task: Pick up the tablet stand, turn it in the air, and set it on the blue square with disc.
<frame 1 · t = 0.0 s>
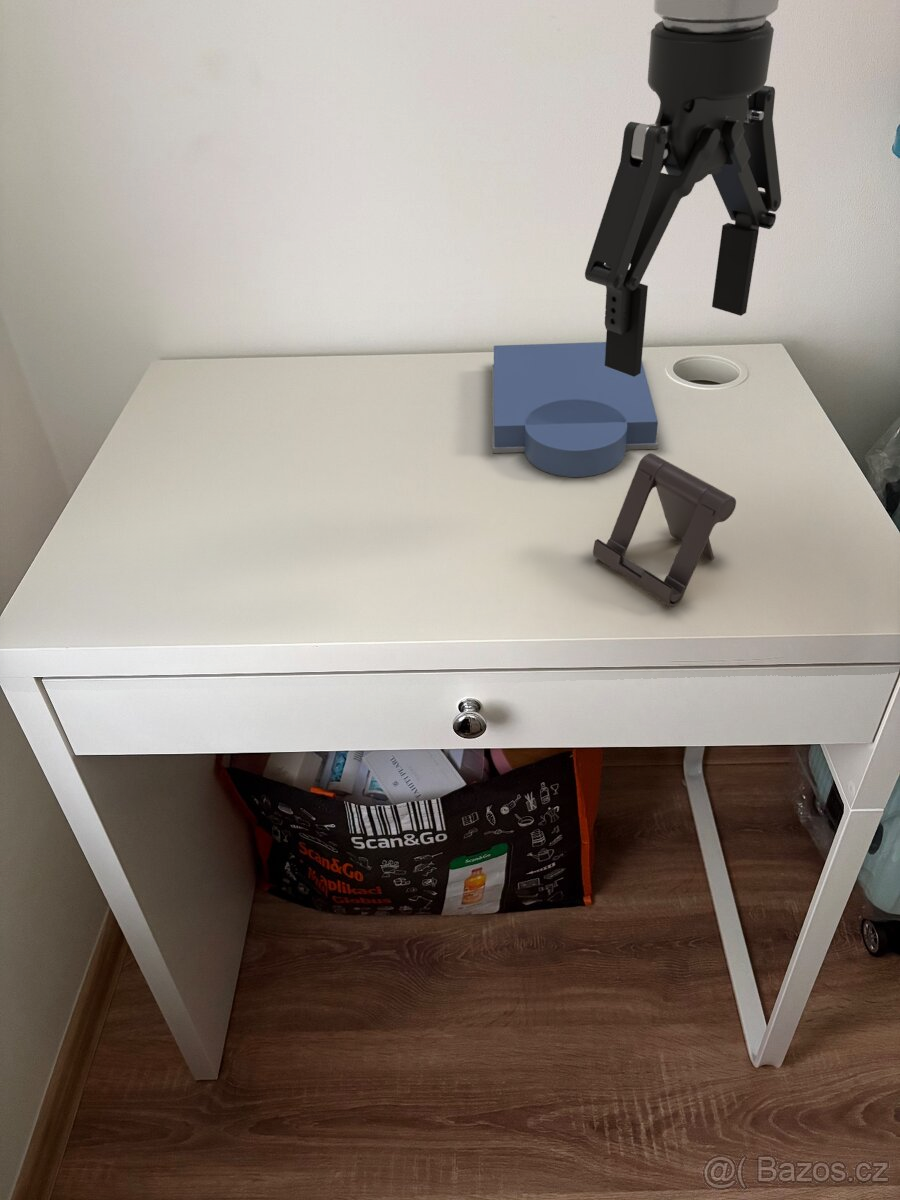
hand: (678, 338, 74), 18 cm above the table, tool pointing down, fingers open, 13 cm apart
blue square with disc: (569, 406, 103), on the table
tablet stand: (660, 567, 82), on the table
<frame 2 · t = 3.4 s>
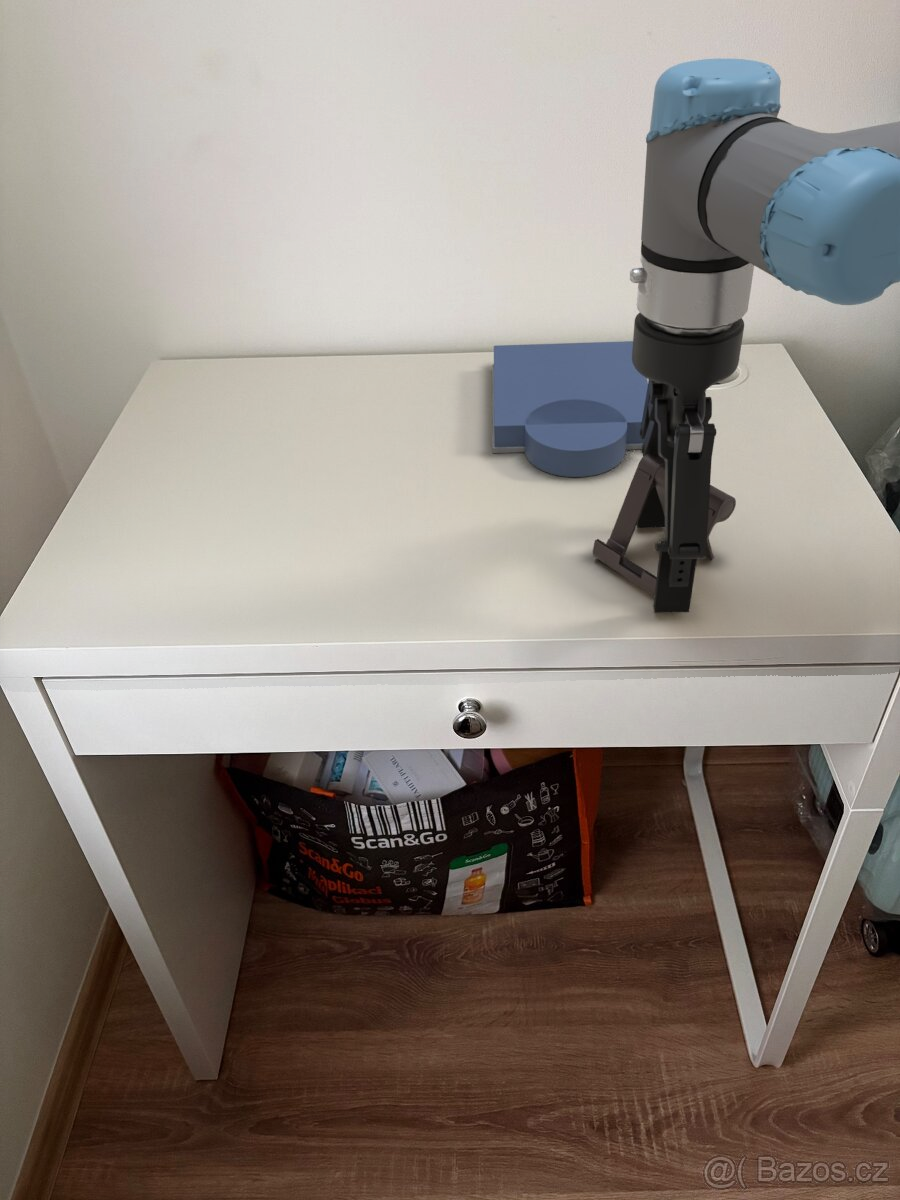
hand: (661, 565, 81), 0 cm above the table, tool pointing down, fingers closed on tablet stand, 11 cm apart
tablet stand: (660, 567, 82), on the table, touching gripper
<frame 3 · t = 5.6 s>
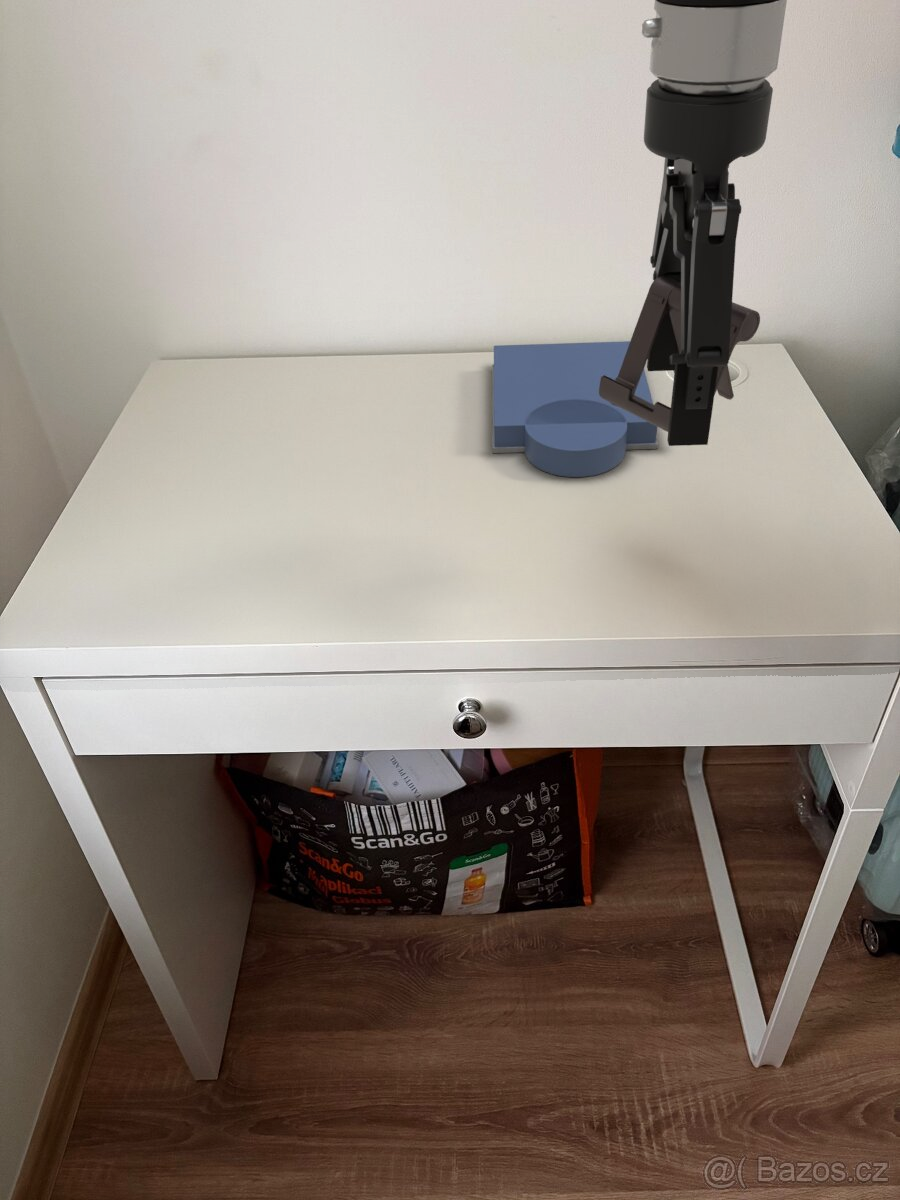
hand: (675, 403, 73), 15 cm above the table, tool pointing down, fingers closed on tablet stand, 11 cm apart
tablet stand: (674, 408, 74), point 14 cm above the table, touching gripper
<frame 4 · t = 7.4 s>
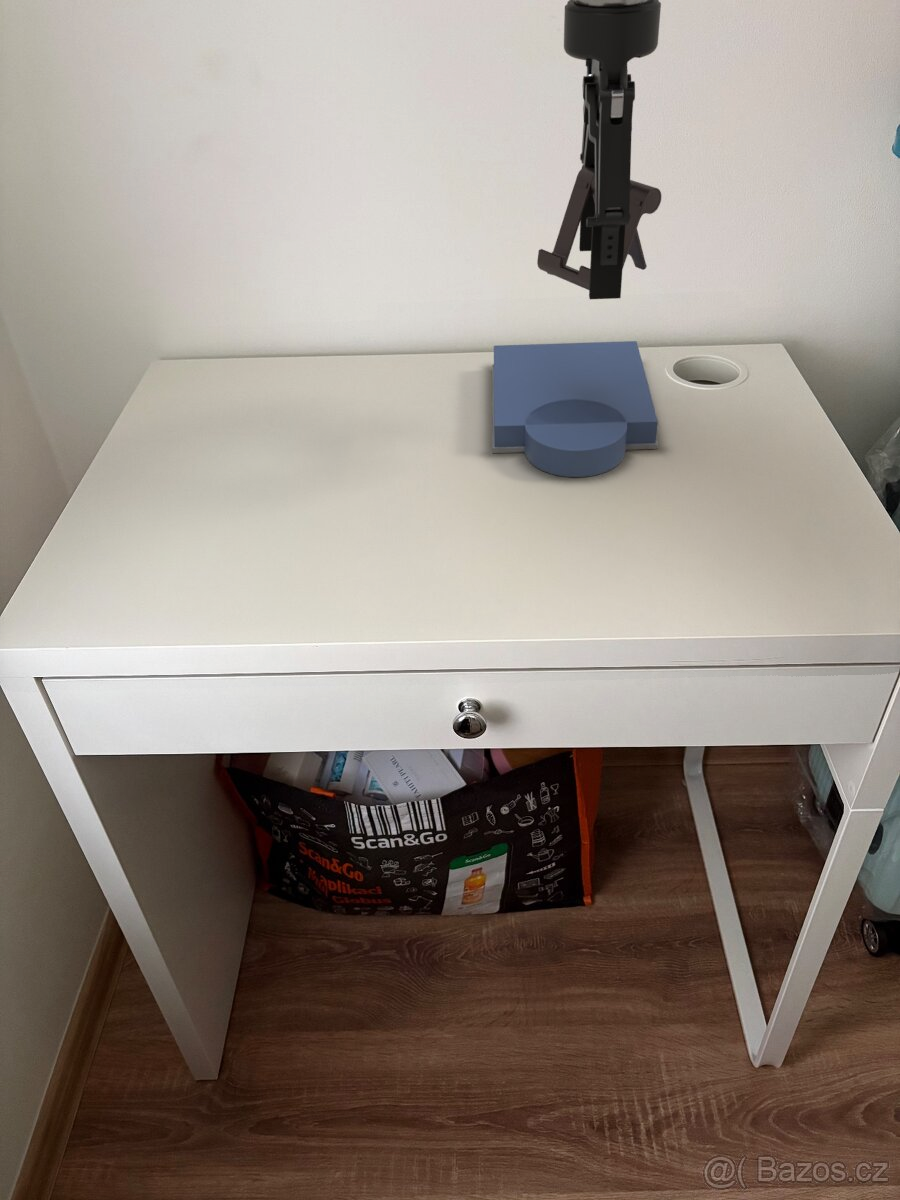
hand: (598, 272, 90), 16 cm above the table, tool pointing down, fingers closed on tablet stand, 11 cm apart
tablet stand: (598, 276, 91), point 16 cm above the table, touching gripper
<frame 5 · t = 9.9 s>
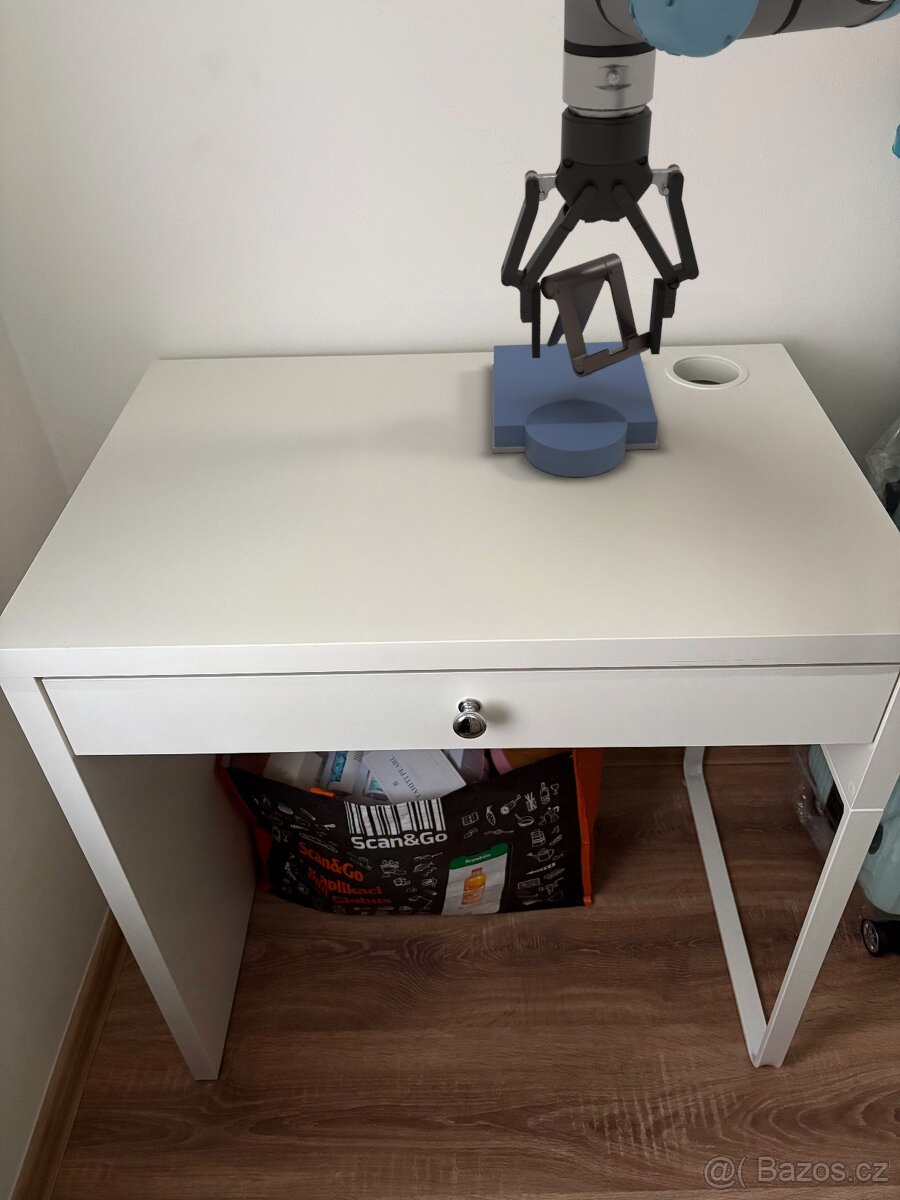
hand: (594, 350, 95), 8 cm above the table, tool pointing down, fingers closed on tablet stand, 11 cm apart
tablet stand: (589, 355, 95), point 8 cm above the table, touching gripper
when the fingers open (3 cm above the table, at t = 11.7 s): tablet stand stays where it is, resting on blue square with disc.
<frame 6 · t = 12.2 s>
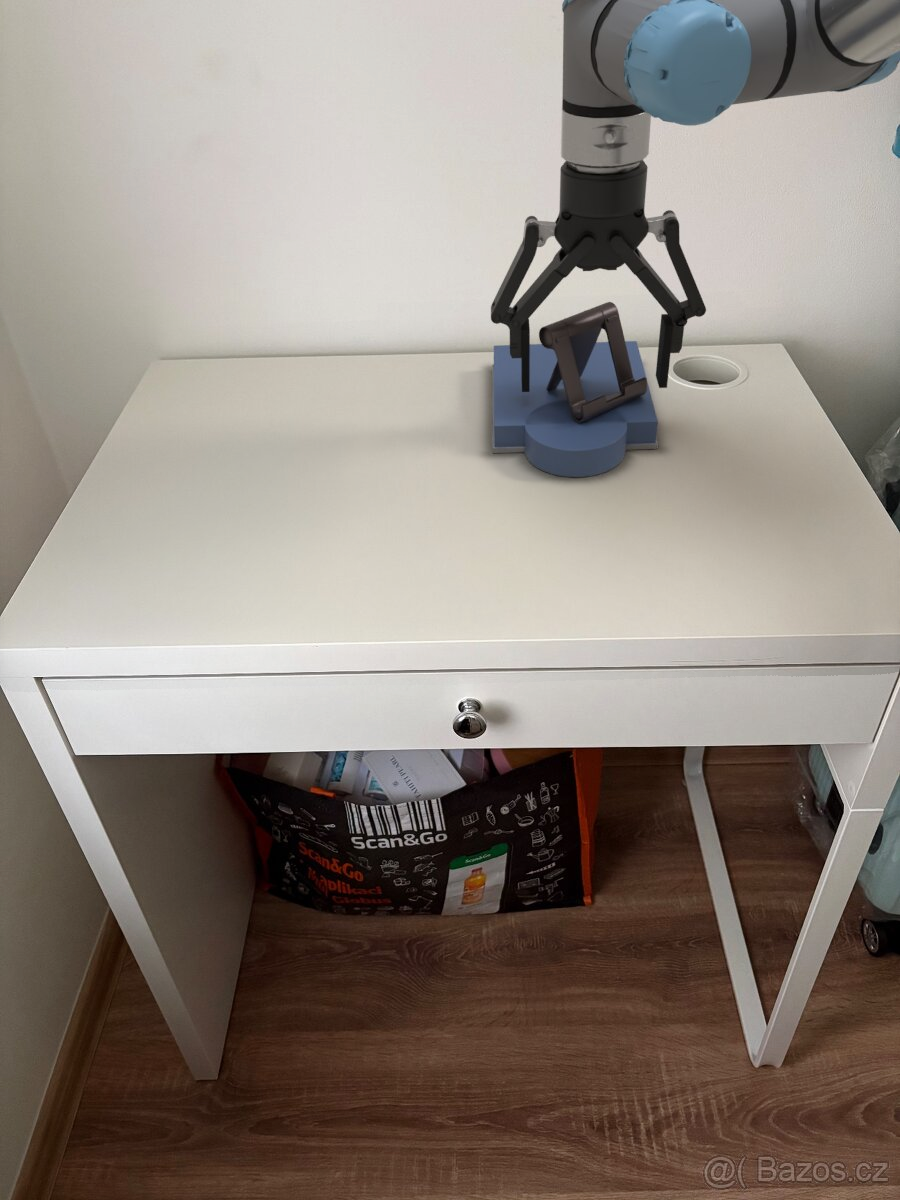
hand: (593, 384, 97), 5 cm above the table, tool pointing down, fingers open, 13 cm apart
tablet stand: (587, 400, 99), point 3 cm above the table, touching blue square with disc
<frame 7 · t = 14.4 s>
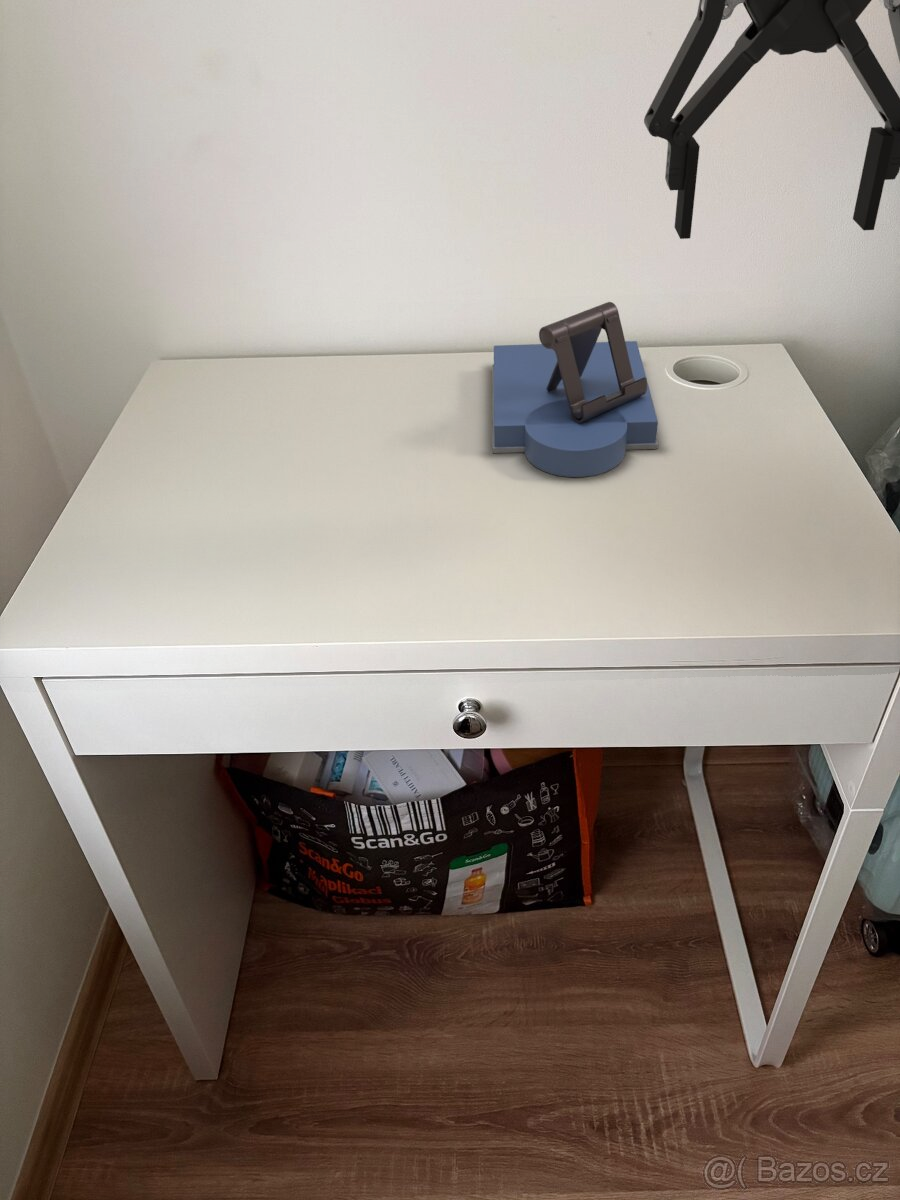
hand: (772, 229, 74), 24 cm above the table, tool pointing down, fingers open, 13 cm apart
nothing on the table moved.
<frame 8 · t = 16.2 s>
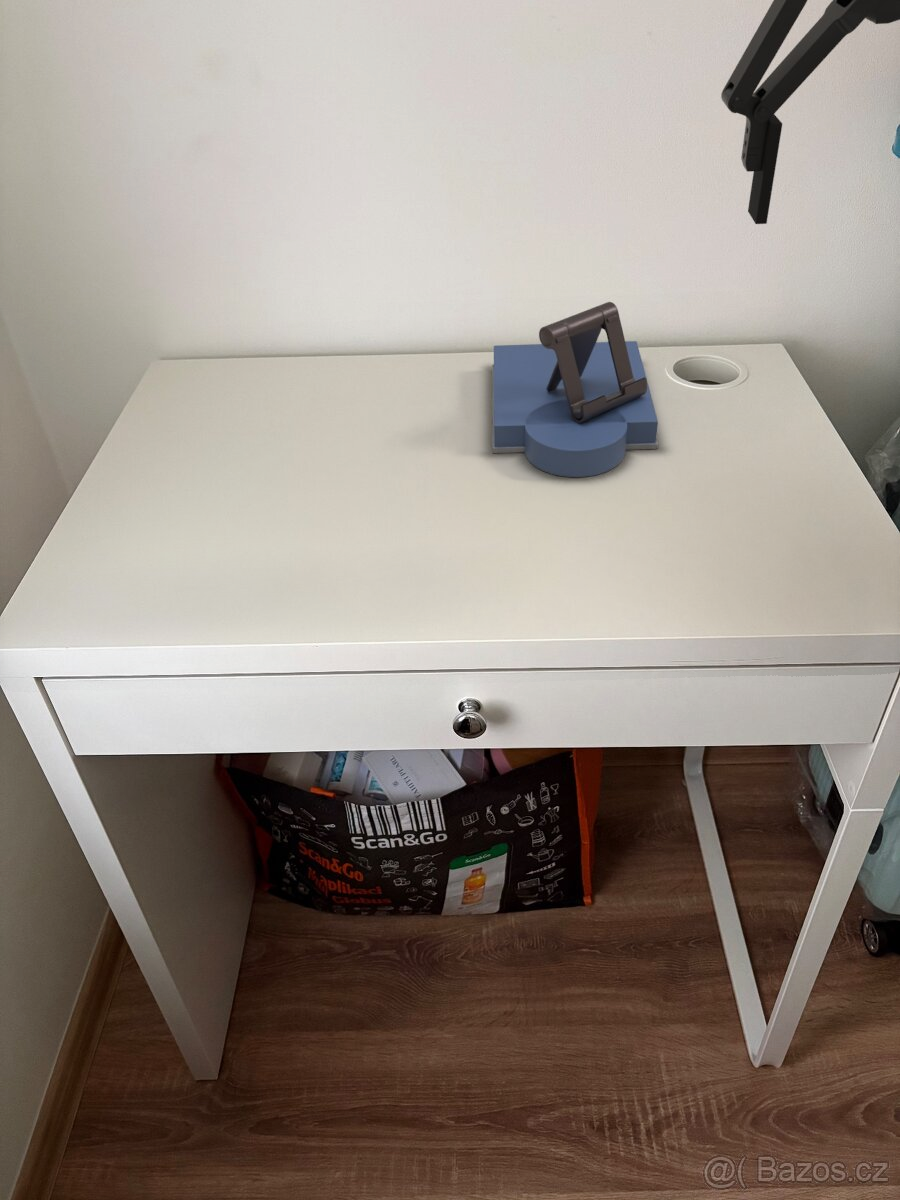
hand: (854, 214, 68), 27 cm above the table, tool pointing down, fingers open, 13 cm apart
nothing on the table moved.
at the end: tablet stand inside the target area on the blue square with disc (3.4 cm from its centre), point 2.8 cm above the blue square with disc's base; tablet stand tilted 0°; the gripper is holding nothing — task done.
